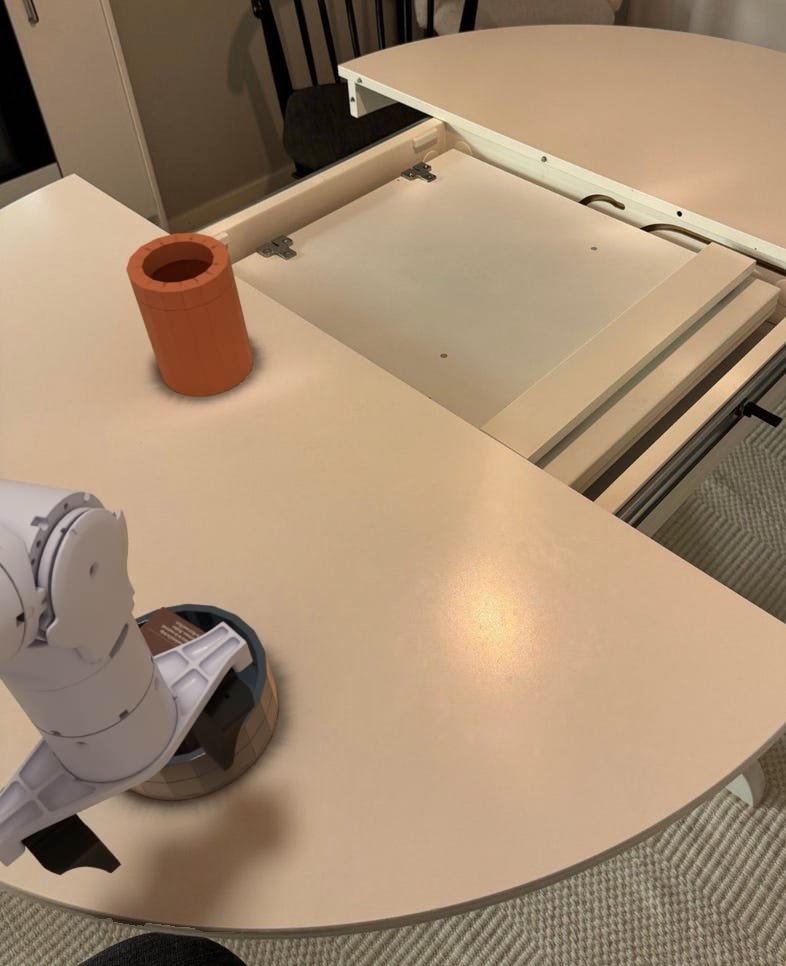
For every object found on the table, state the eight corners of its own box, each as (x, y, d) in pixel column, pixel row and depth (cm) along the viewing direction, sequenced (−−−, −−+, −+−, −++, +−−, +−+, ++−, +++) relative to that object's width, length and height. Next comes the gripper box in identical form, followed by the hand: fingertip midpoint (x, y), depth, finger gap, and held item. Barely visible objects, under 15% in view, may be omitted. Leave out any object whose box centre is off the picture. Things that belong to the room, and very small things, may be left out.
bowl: (172, 838, 62) (151, 805, 58) (66, 723, 67) (41, 687, 63) (313, 709, 68) (304, 672, 64) (206, 614, 73) (191, 575, 69)
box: (250, 702, 68) (229, 646, 62) (189, 769, 64) (161, 716, 59) (188, 661, 70) (162, 603, 64) (125, 724, 66) (93, 669, 61)
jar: (199, 409, 88) (166, 304, 79) (143, 368, 92) (107, 263, 83) (271, 363, 92) (248, 258, 83) (215, 325, 96) (187, 221, 87)
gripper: (167, 539, 49) (222, 677, 59) (-109, 736, 41) (7, 855, 52) (257, 616, 46) (299, 747, 56) (-25, 844, 38) (82, 948, 48)
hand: (164, 805), depth 53 cm, fingers open, 7 cm apart
